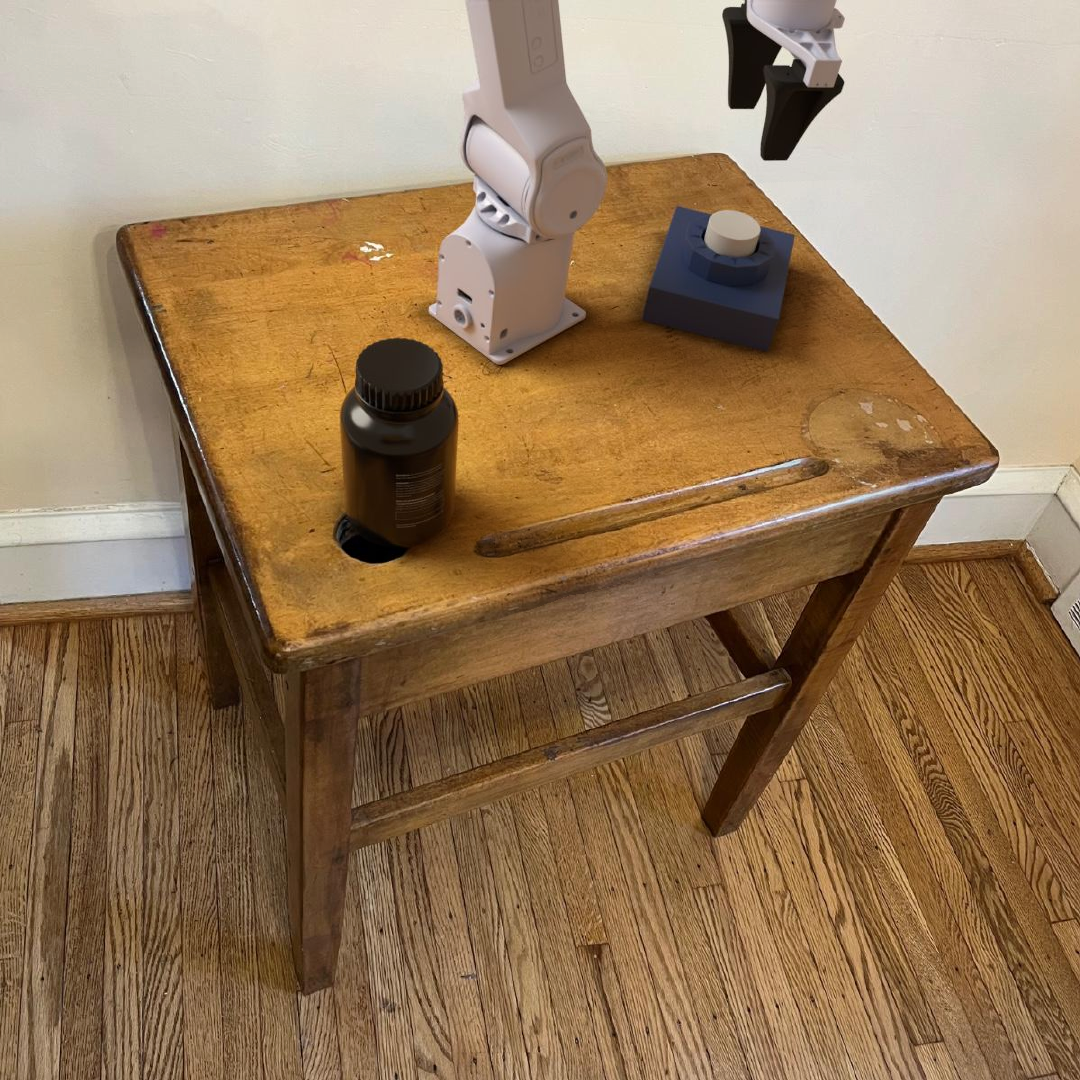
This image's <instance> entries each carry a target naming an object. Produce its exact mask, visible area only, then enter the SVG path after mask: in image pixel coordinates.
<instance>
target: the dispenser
mask: <svg viewBox="0 0 1080 1080" xmlns="http://www.w3.org/2000/svg"><path fill="white" fill-rule="evenodd" d="M712 215H713V214H711V213H708V212H703V211H700V210H696V209H692V208H688V207H683V206H679V205H676V207H675V208H674V212H673V214H672V218H671V219H670V224H669V227H668V230H667V232H666V236H665V238H664V242H663V244H662V248H661V250H660V253H659V256H658V259H657V262H656V266H655V269H654V270H653V274H652V278H651V280H650V283H649V286H648V290H647V295H646V299H645V304H644V307H643V312H642V317H641V320H642V321H643V322H647V323H651V324H655V325H660V326H663V327H667V328H671V329H675V330H679V331H683V332H687V333H691V334H695V335H699V336H702V337H706V338H711V339H714V340H719V341H722V342H726V343H730V344H734V345H739V346H741V347H746V348H750V349H754V350H757V351H762V352H766V353H768V352H769V349H770V346H771V344H772V341H773V338H774V334H775V332H776V329H777V326H778V324H779V320H780V316H781V310H782V304H783V300H784V294H785V289H786V284H787V278H788V273H789V268H790V262H791V258H792V252H793V247H794V242H795V236H796V235H795V234H794V233H789V232H786V231H781V230H778V229H773V228H769V227H765V226H761V225H760V229H761V231H760V235H759V238H758V241H757V244H756V248H755V251H754V253H753V254H752V255H751V256H749V257H739V258H733V257H729V256H725V255H721V254H718V253H716V252H715V251H713V250H711V249H710V248H708V247H707V246H706V245H705V242H704V238H705V234H706V230H707V226H708V223H709V219H710V217H711V216H712Z"/></svg>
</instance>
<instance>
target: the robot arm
mask: <svg viewBox="0 0 1080 1080" xmlns="http://www.w3.org/2000/svg"><path fill="white" fill-rule="evenodd" d="M464 2H465V7H466V14H467V21H468V24H469V30H470V37H471V43H472V48H473V53H474V58H475V59H474V60H475V64H476V71H477V76H478V77H477V78H476V79H475V80H474V81H473V82H472V83H470V85H468V87H467V88H466V89H465V90H464V91H463V92H462V93H461V97H462V98H461V99H462V104H463V112H464V114H463V115H464V116H463V122H462V127H461V131H460V136H459V143H458V145H459V148H458V149H459V154H460V157H461V161H462V163H463V164H464V165H465V167H466V168H467V169H468V170H469V171H470V172H471V173H473V174H474V175H473V186H472V191H473V192H474V193H475V205H474V207H473V208H472V210H471V213H470V214H469V216H468V217H467V218H466V220H465V221H464V222H463V223H462V224H461V225H460V226H459V227H458V228H457V229H455V230H454V231H452V232H451V233H450V234H448V235H447V236H446V237H445V238H444V239H443V240H442V242H441V244H440V246H439V249H438V263H437V264H438V265H437V285H436V286H437V287H436V302H435V303H433V304H431V305H429V307H428V314H429V315H430V316H432V318H434V319H436V320H437V321H439V322H440V323H441V324H442V325H444V326H445V327H446V328H448V329H449V330H450V331H452V332H453V333H454V334H455V335H456V336H458V337H459V338H461V339H462V340H463V341H465V342H466V343H467V344H469V345H470V346H472V347H473V348H474V349H475V350H476V351H478V352H479V353H480V354H482V355H483V356H484V357H486V358H487V359H489V360H490V361H491V362H493V363H494V364H495V365H500V366H501V365H504V364H506V363H509V362H510V361H511V360H514V359H515V358H518V357H519V356H521V355H522V354H524V353H526V352H528V351H531V349H533V348H535V347H537V346H538V345H540V344H542V343H544V342H546V341H547V340H550V339H551V338H553V337H555V336H556V335H558V334H560V333H562V332H564V331H565V330H567V329H570V328H571V327H572V326H575V325H576V324H578V323H580V322H582V321H583V320H585V319H586V316H587V311H585V309H583V308H581V307H580V306H579V305H578V304H576V303H574V302H573V301H571V300H570V299H568V298H567V297H566V293H567V292H566V291H567V284H568V277H569V273H570V265H571V259H572V252H573V246H574V242H575V241H574V240H575V233H576V232H578V231H580V230H582V229H583V227H584V226H585V225H587V224H588V222H589V221H590V220H591V219H592V218H593V217H594V215H595V214H596V212H597V211H598V209H599V207H600V206H601V203H602V202H603V200H604V197H605V194H606V190H607V185H608V172H607V168H606V165H605V163H604V161H603V160H602V159H601V157H600V156H599V155H598V154H597V152H596V151H595V148H594V144H593V138H592V137H593V136H592V129H591V126H590V124H589V122H588V120H587V118H586V117H585V115H584V113H583V111H582V109H581V107H580V106H579V103H578V102H577V100H576V99H575V97H574V95H573V93H572V91H571V89H570V87H569V85H568V83H567V74H566V64H565V55H564V54H565V53H564V44H563V33H562V23H561V22H562V21H561V14H560V13H561V12H560V5H559V4H560V3H559V0H464ZM836 4H837V0H744V3H741V4H740V6H726V7H724V9H723V11H722V14H721V17H722V22H723V25H724V29H725V34H726V42H727V50H728V51H727V53H728V80H727V105H728V107H729V109H730V110H755V108H756V106H757V104H758V103H759V101H760V99H761V97H762V94H763V91H764V90H765V89H766V90H765V91H766V104H765V105H766V107H765V117H764V122H763V128H762V133H761V139H760V148H759V149H760V151H759V152H760V157H761V159H762V161H765V162H773V161H774V162H777V161H778V162H779V161H781V162H783V161H785V162H786V161H789V158H790V156H791V155H792V154H793V152H794V150H795V149H796V147H797V146H798V144H799V143H800V140H801V139H802V137H803V136H804V134H805V133H806V131H807V129H808V128H809V127H810V125H811V124H812V122H813V121H814V120H815V118H817V116H818V115H819V114H820V113H821V112H822V110H823V109H824V108H825V107H827V105H829V103H831V101H833V100H834V99H835V98H837V97H838V96H839V95H840V94H841V93H842V91H843V89H844V86H845V80H844V78H843V77H842V76H841V75H840V73H839V72H840V68H841V66H842V63H843V60H842V58H841V57H840V56H839V54H838V52H837V45H836V38H835V30H836V29H841V28H843V26H844V23H845V16H844V15H843V14H842V13H841V12H840V10H839V9H837V8H836ZM782 48H783V49H785V50H786V51H788V52H789V53H790V55H791V56H792V57H793V60H792V62H791V65H789V64H788V65H787V64H774V63H775V61H776V59H777V57H778V55H779V54H780V52H781V50H782Z"/></svg>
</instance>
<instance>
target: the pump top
mask: <svg viewBox="0 0 1080 1080" xmlns="http://www.w3.org/2000/svg"><path fill="white" fill-rule="evenodd" d="M760 226H761V225H760V223H759V221H757V220H756V219H755V218H754V217H753V216H751V215H749V214H747V213H745V212H742V211H737V210H733V209H732V210H731V209H730V210H729V209H724V210H719V211H716V212H714V213H713V214H712V216H711V217H710V219H709V223H708V226H707V230H706V234H705V238H704V242H705V245H706V246H707V247H708V248H710V249H711V250H713V251H715V252H716V253H718V254H721V255H725V256H729V257H733V258H739V257H749V256H751V255H752V254H753V253H754V251H755V248H756V244H757V241H758V238H759V235H760V231H761V229H760Z"/></svg>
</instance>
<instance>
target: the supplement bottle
mask: <svg viewBox="0 0 1080 1080" xmlns="http://www.w3.org/2000/svg"><path fill="white" fill-rule="evenodd" d="M443 377H444V365H443V362H442V358H441V357H440V355H439V353H438V352H437V351H435V350H434V348H432V347H430V345H428V344H426V343H423V342H422V341H420V340H415V339H414V338H406V337H402V338H401V337H394V338H392V337H391V338H390V337H388V338H386V339H380V340H378V341H374V342H372V344H369V345H367V346H366V347H365V348H363V349H362V350H361V352H360V353H359V354H358V355H357V359H356V361H355V378H354V379H355V380H354V386H353V387H351V389H350V390H349V391H348V393H347V394H346V395H345V397H344V399H343V401H342V403H341V405H340V411H339V432H340V446H341V449H340V450H341V464H342V466H341V467H342V479H343V480H342V481H343V498H344V509H345V514H346V518H347V520H348V522H349V524H350V525H351V527H352V528H353V530H355V532H356V533H357V534H359V536H361V537H362V538H364V539H365V540H366V541H369V542H371V543H373V544H375V545H378V546H381V547H383V548H390V549H409V548H414V547H419V546H422V545H424V544H427V543H429V542H431V541H433V540H435V539H436V538H438V537H439V536H440V535H441V534H442V533H443V532H444V531H445V530H446V529H447V527H448V525H449V524H450V522H451V520H452V518H453V514H454V509H455V498H456V497H455V496H456V481H457V479H456V478H457V463H458V462H457V459H458V441H459V440H458V439H459V424H460V423H459V409H458V405H457V404H456V402H455V400H454V399H455V398H454V397H453V396H452V394H451V393H450V391H448V390H447V388H446V387H445V386H444V378H443Z"/></svg>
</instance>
